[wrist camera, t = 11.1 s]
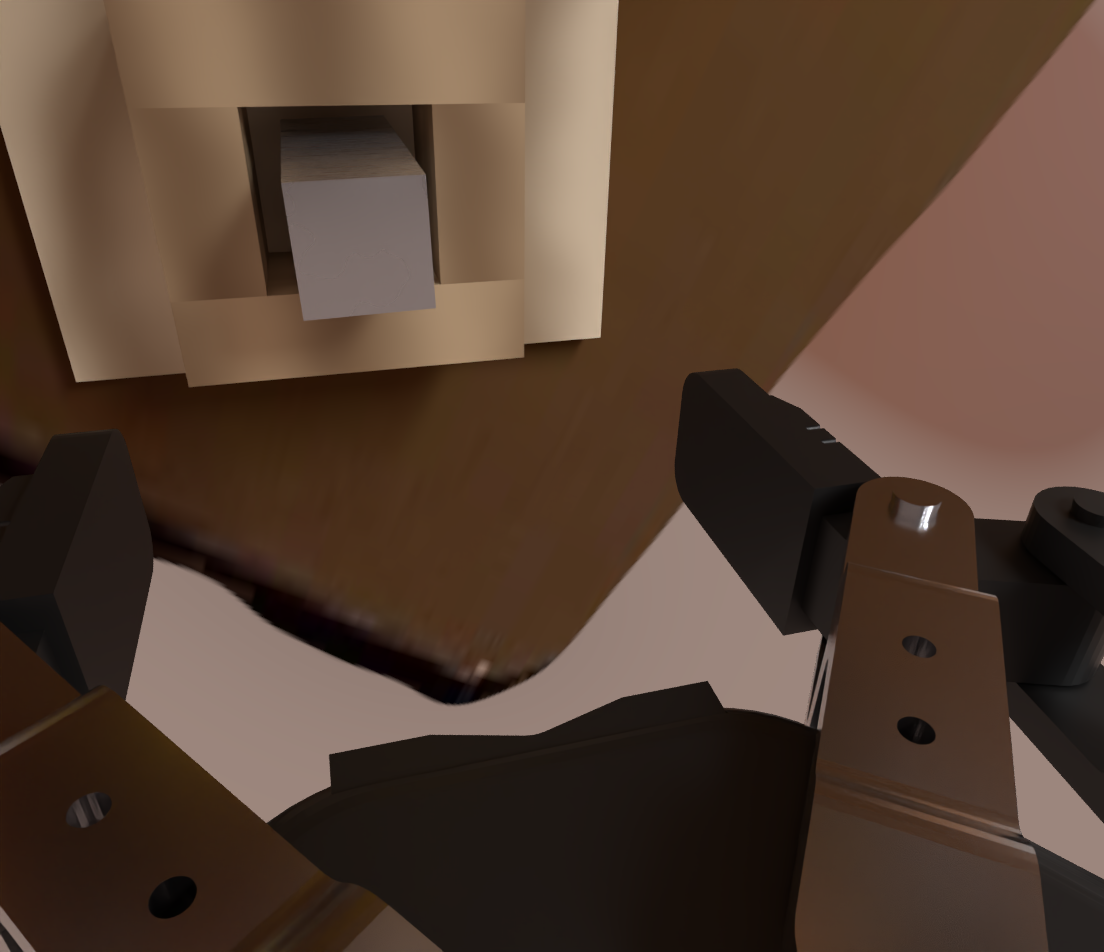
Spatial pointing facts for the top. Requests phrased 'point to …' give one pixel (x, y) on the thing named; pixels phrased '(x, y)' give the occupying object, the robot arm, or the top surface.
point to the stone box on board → (255, 173)
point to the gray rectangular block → (355, 217)
